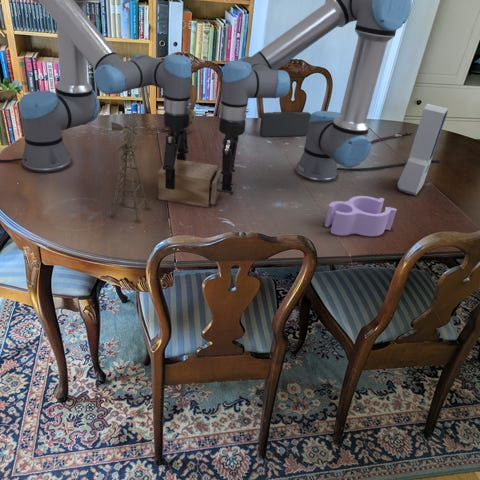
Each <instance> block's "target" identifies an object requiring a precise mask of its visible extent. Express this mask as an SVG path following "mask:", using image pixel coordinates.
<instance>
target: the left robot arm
mask: <svg viewBox="0 0 480 480" xmlns="http://www.w3.org/2000/svg"><path fill="white" fill-rule="evenodd" d="M90 1H91V0H33V2H34V3H36V4H38V5H41V6H42V7H43V8H44V9H45V10H46V12H47V13H48V15H49V16H50V17H51V18H52V19H53V21H54V22H55V24H56V34H57V35H56V37H57V51H58V52H57V53H58V67H59V80H58V81H57V83H55V92H54V91H51V90H40V91H39V90H36V91H31V92H29V93H26V94H24V95H23V96H22V97H21V98H20V100H19V103H18V104H19V116H20V119H21V125H22V132H23V137H24V148H23V153H22V157H20V158H11V159H0V163H11V162H12V163H13V162H21V161H22V166H23V168H24V169H25V170H27V171H29V172H33V173H39V174H46V173H56V172H61V171H63V170H66V169H67V168H69V167H70V166H71V163H72V159H71V154H70V153H69V151H68V150H67V149H68V148H67V147H66V145H65V143H64V140H63V131H65V130H69V129H73V128H77V127H79V126H84V125H87V124H89V123H91V122H94V121H95V120H96V119H97V118H98V117H99V114H100V109H101V104H100V99H99V98H98V94H97V93H96V92H95V91H94V90H93V87H92V85H91V83H89V82H88V64H89V65H90V66H91V67H92V68H93V70H94V73H93V79H94V82H95V84H96V88H97V89H98V90H99V91H100V92H101V93H102V94H105V95H115V94H122V93H125V92H127V91H131V90H136V89H140V88H145V87H149V86H153V87H157V88H160V89H163V126H164V125H165V126H166V128H167V129H169V128H170V129H169V131H168V134H167V135H166V136H165V145H164V146H165V147H164V157H163V165H162V167H163V170H166V188H168V189H175V169H174V165H175V160H176V159H179V160H185V161H187V159H186V158H187V155H188V154H189V152H190V150H188V149H189V145H188V133H187V131H188V130H186V128H187V127H188V128H189V126H190V125H189V124H190V114H189V112H190V110H191V107H192V106H193V103H192V102H191V87H192V86H191V85H192V75H193V74H192V60H191V59H190V58H189V57H188V56H186V55H180V54H168V55H165V56H164V58H163V59H161V58H157V57H153V56H151V55H148V54H140V53H139V54H138V53H137V54H135V55H134V56H133V57H132V58H131V59H130V60H129V59H128V60H123V59H122V58H121V57H120V56H119V54H118V53H117V52H116V51H115V49H114V48H113V47H112V46H111V44H110V43H109V42H108V41H107V40H106V38H105V37H104V35H102V33H101V32H100V31H99V29H98V28H97V27H96V26H95V24H94V23H93V22H92V21H91V20H90V18H89V17H88V16H87V15H86V5H87V4H88V3H89V2H90Z"/></svg>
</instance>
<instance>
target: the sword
mask: <svg viewBox="0 0 480 480" xmlns="http://www.w3.org/2000/svg"><path fill="white" fill-rule="evenodd" d="M412 134H414V132H413V133H410V134H409V135H412ZM406 135H408V134H402V132H398V133H397V134H396V133H395V134H392V135H389V136H383V137H379V138H377V139H373V140H371V141H370V142H371V145H372V144H374V143H377V142H381V141H384V140H389V139H393V138H398V137H403V136H406Z"/></svg>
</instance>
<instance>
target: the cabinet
mask: <svg viewBox="0 0 480 480" xmlns="http://www.w3.org/2000/svg"><path fill="white" fill-rule="evenodd" d="M174 169H175V189H168V188H166V170H163V166H161V168H160V169H159V170H158V171H157V175H158V176H157V177H158V178H157V180H158V182H157V184H158V186H157V187H158V188H157V189H158V192H157V198H158V200H160V201H161V200H163V201H167V202H174V203H181V204H185V205H191V206H197V207H203V208H209V206H210V205H211V194H210V196H209V193H210V181H211V179H212V177H213V180H214V178H215V176H216V174H217V172H218V169H219V167H218V165H216V164H209V163H205V162H204V163H203V162H198V161H197V162H196V161H190V160H186V161H185V160H179V159H177V158H176V160H175V165H174Z"/></svg>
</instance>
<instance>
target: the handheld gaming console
mask: <svg viewBox="0 0 480 480" xmlns="http://www.w3.org/2000/svg"><path fill="white" fill-rule="evenodd" d="M311 114H312V113H310V112H307V111H272V112H271V111H270V112H263V113H262V114H261V116H260V123H259V124H260V125H259V131H258V132H259V134H260V136H262V137H293V136H294V137H295V136H296V137H298V136H307V132H308V126H309V120H310V116H311Z"/></svg>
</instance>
